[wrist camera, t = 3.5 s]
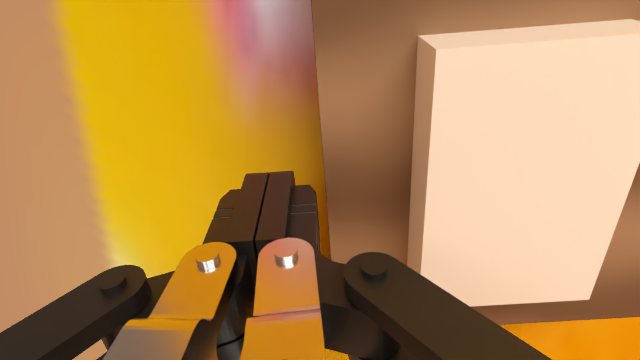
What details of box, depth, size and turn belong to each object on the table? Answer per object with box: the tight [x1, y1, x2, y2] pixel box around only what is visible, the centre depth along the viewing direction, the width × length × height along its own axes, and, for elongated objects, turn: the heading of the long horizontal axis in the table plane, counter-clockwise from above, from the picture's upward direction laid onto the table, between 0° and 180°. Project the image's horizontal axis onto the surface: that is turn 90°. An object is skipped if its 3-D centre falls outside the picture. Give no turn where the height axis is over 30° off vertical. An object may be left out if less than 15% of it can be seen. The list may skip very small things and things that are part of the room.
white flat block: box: [407, 19, 640, 307], centre depth 13 cm, size 9×6×2 cm, turn 4°
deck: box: [311, 0, 640, 325], centre depth 15 cm, size 16×14×4 cm
